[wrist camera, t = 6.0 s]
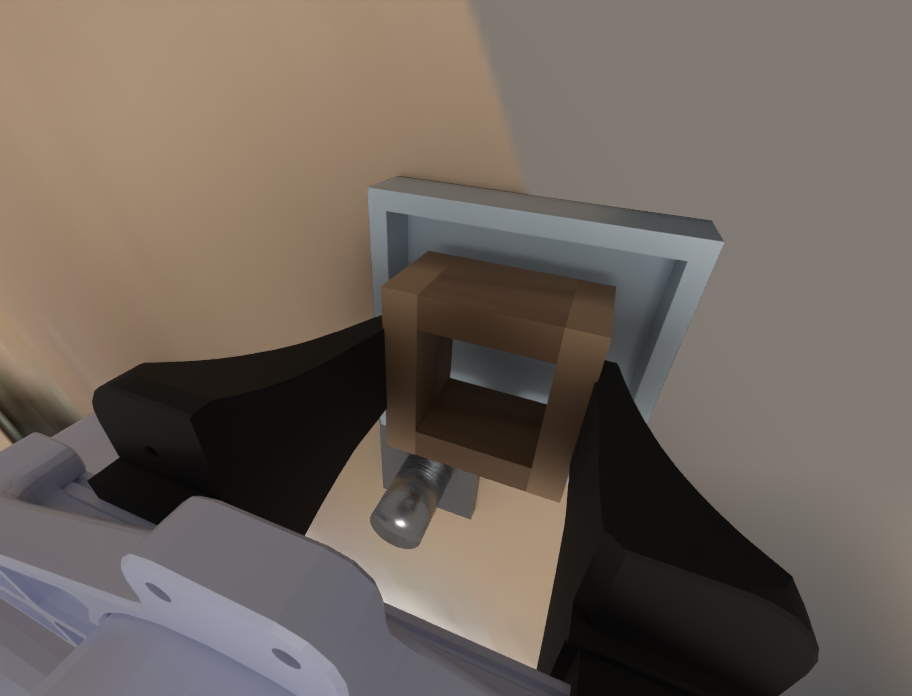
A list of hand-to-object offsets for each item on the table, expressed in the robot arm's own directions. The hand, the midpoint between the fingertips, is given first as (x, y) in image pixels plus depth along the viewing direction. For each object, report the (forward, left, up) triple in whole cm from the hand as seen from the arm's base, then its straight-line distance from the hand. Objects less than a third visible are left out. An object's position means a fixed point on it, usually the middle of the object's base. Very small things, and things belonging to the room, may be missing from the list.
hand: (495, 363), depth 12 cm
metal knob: (-3, -9, -3) cm, 10 cm away
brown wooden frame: (0, 0, -1) cm, 1 cm away
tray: (0, -1, -3) cm, 3 cm away
